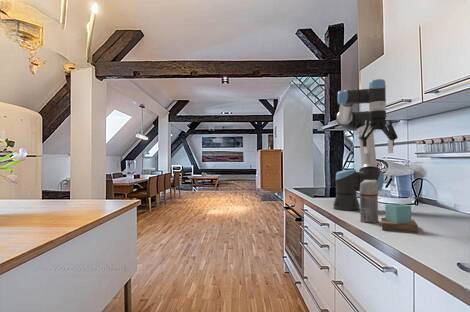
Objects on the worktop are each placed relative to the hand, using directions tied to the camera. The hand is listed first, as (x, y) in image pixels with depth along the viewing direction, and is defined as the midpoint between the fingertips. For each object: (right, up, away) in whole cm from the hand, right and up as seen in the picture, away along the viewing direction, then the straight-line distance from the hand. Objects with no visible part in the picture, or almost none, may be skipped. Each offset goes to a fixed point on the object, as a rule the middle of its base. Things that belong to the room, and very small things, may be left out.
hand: (378, 153), depth 157 cm
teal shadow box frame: (-2, -29, -22) cm, 37 cm away
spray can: (-7, -33, -7) cm, 34 cm away
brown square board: (-1, -32, -22) cm, 39 cm away
